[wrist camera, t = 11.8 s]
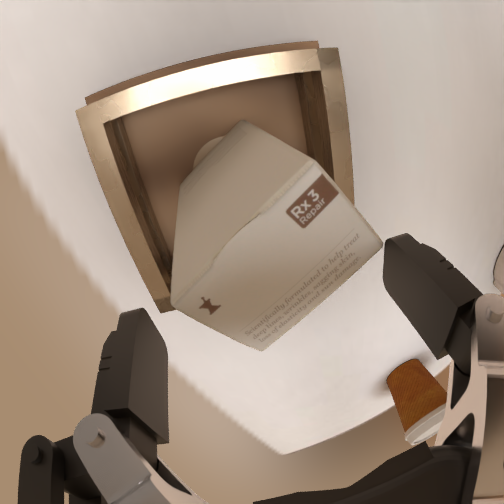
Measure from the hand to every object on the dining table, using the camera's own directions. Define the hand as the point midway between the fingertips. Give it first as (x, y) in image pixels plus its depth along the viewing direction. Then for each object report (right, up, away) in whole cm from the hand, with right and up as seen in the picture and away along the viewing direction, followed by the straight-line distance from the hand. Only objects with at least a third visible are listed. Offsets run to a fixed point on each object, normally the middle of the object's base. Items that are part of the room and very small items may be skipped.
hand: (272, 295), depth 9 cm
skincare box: (-2, +7, +10) cm, 12 cm away
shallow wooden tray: (-2, +7, +10) cm, 12 cm away
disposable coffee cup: (+24, -18, +32) cm, 43 cm away
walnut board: (-2, +7, +10) cm, 12 cm away
